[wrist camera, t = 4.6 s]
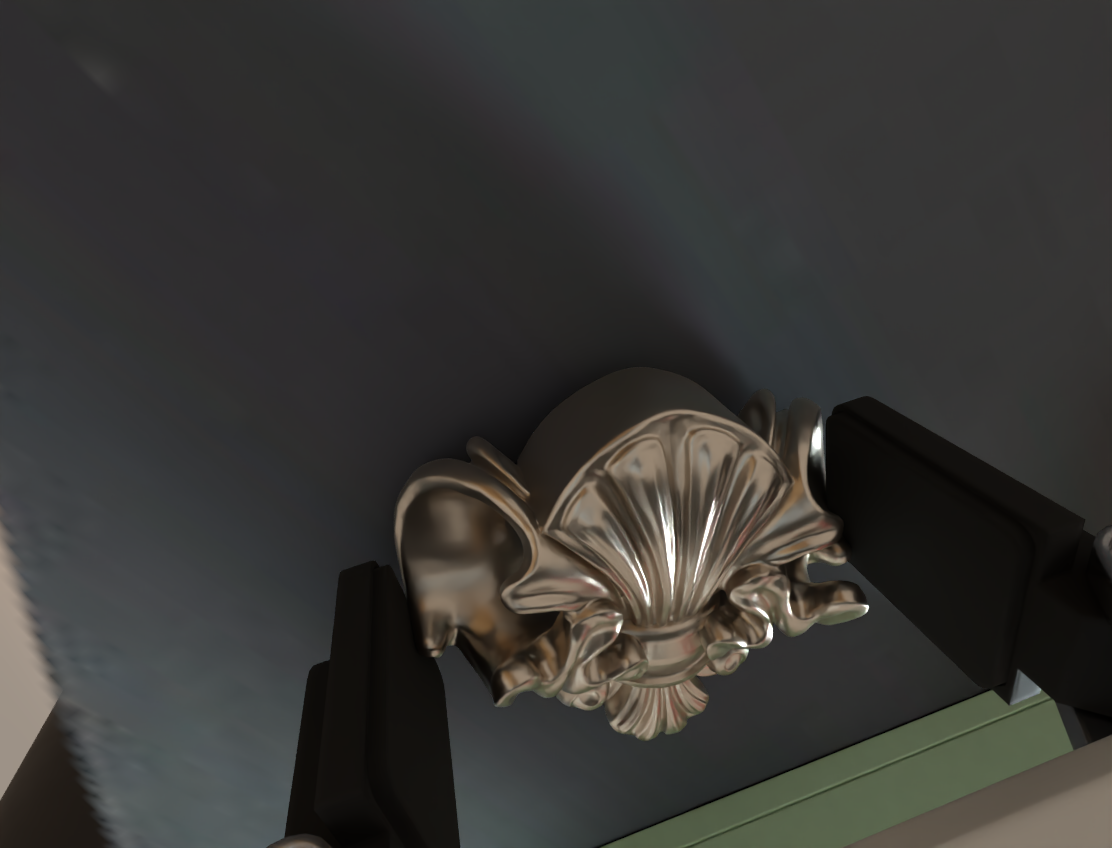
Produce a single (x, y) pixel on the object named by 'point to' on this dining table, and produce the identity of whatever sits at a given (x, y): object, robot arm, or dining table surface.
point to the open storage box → (875, 780)
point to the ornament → (625, 548)
